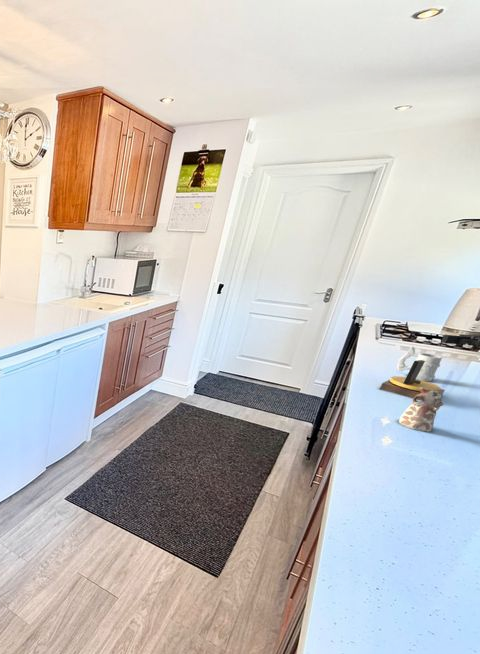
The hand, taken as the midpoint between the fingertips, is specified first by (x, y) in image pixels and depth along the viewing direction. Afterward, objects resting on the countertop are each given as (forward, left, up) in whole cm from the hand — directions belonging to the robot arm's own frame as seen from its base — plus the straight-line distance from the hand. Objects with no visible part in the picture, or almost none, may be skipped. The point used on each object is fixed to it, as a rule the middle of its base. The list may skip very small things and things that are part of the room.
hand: (444, 339), depth 139 cm
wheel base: (+2, -3, -22) cm, 22 cm away
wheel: (+2, -3, -19) cm, 19 cm away
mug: (+7, -30, -22) cm, 38 cm away
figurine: (-7, +36, -22) cm, 43 cm away
